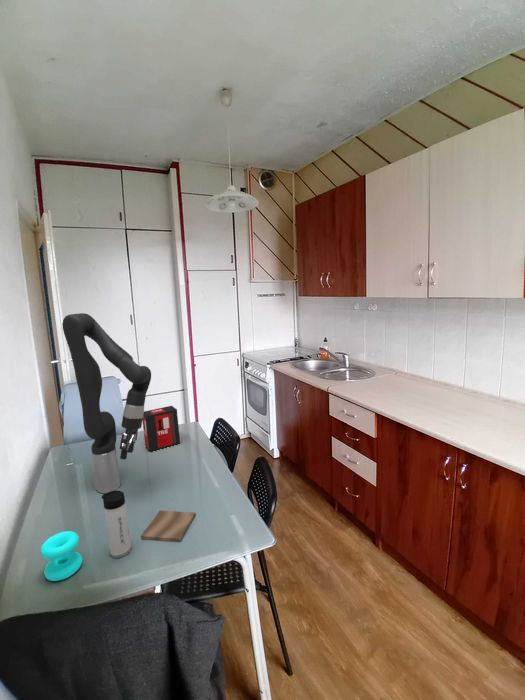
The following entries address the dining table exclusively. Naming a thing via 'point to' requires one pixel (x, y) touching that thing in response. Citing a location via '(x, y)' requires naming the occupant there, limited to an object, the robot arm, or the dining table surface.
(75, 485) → the dining table surface
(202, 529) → the dining table surface
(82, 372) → the robot arm
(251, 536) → the dining table surface
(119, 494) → the travel mug
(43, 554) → the cyan spool
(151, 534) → the walnut board
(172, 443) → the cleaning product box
